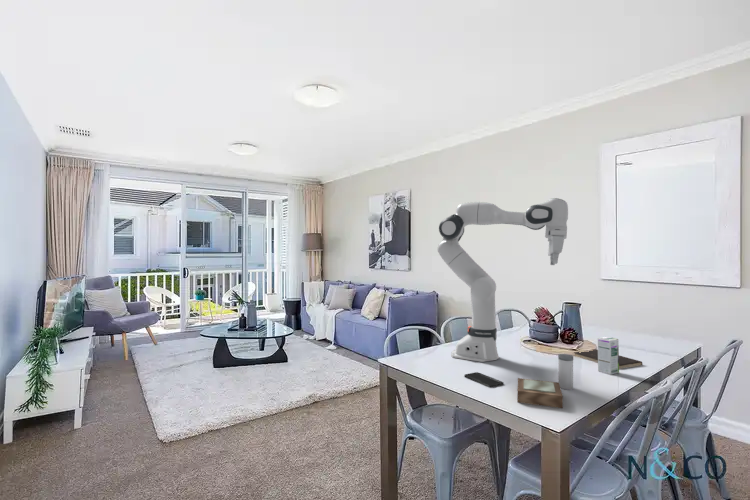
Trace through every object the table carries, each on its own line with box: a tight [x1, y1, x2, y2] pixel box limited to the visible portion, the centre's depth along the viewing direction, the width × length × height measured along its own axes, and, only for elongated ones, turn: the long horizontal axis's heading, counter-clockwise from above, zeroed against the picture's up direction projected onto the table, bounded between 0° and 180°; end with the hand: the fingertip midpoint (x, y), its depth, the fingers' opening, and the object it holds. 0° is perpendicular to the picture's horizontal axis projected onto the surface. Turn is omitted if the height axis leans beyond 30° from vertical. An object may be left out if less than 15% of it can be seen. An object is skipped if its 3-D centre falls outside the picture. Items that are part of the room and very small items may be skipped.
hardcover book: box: [573, 348, 643, 370], centre depth 186 cm, size 16×23×2 cm
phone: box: [463, 371, 505, 388], centre depth 157 cm, size 8×1×15 cm
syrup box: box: [597, 336, 620, 376], centre depth 168 cm, size 6×6×14 cm
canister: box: [557, 353, 574, 391], centre depth 149 cm, size 5×5×12 cm
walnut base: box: [516, 377, 564, 409], centre depth 139 cm, size 14×14×4 cm
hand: (553, 264), depth 178 cm, fingers open, 8 cm apart
